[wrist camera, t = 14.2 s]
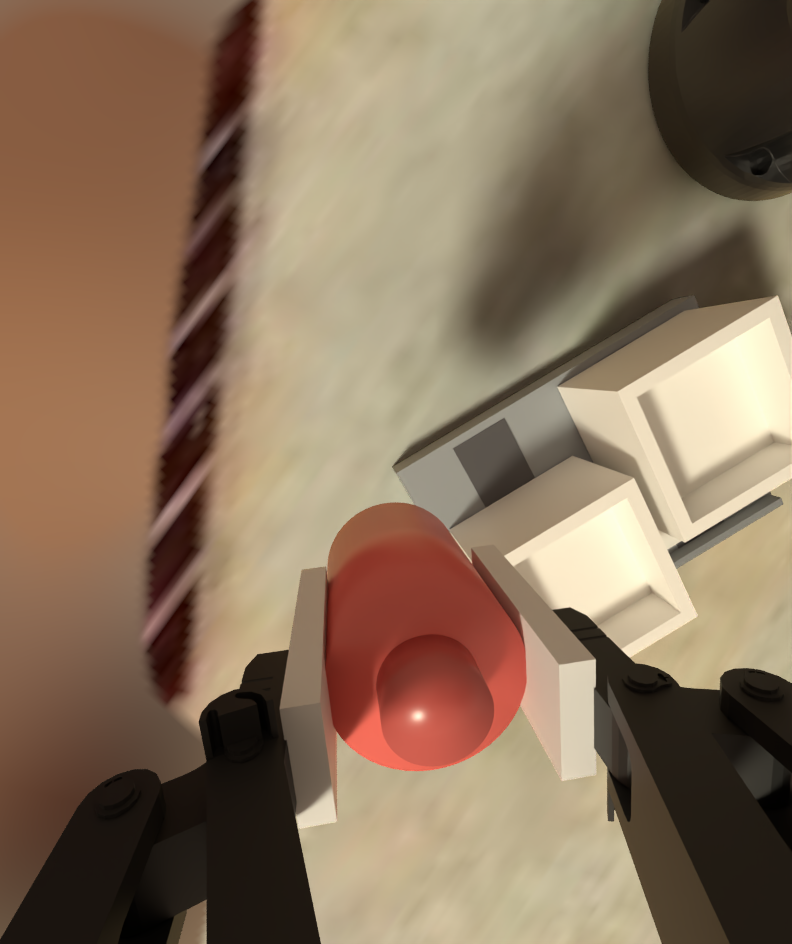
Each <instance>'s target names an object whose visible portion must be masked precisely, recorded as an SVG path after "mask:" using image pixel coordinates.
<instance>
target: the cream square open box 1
mask: <svg viewBox="0 0 792 944" xmlns="http://www.w3.org/2000/svg"><path fill="white" fill-rule="evenodd" d="M557 388H558V390H559V392H560V394H561V396H562V398H563V400H564V402H565V404H566V407H567V409H568V411H569V413H570V415H571V417H572V419H573V421H574V423H575V425H576V427H577V429H578V432H579V434H580V436H581V438H582V440H583V442H584V444H585V446H586V448H587V450H588V452H589V454H590V457H591V459H592V461H593V463H594V464H597V465H600V466H603V467H605V468H608V469H611V470H614V471H617V472H619V473H622V474H625V475H628V476H631V477H633V478H634V479H635V481H636V483H637V485H638V487H639V489H640V492H641V494H642V496H643V498H644V500H645V502H646V505H647V507H648V509H649V511H650V513H651V515H652V518H653V520H654V522H655V524H656V526H657V528H658V530H660V531H662V532H664V533H666V534H668V535H670V536H672V537H674V538H676V539H678V540H681V541H683V542H687V541H689V540H690V539H692V538H694V537H695V536H697V535H699V534H700V533H702V532H704V531H705V530H707V529H709V528H710V527H712V526H714V525H715V524H717V523H719V522H720V521H722V520H723V519H725V518H727V517H728V516H730V515H732V514H733V513H735V512H737V511H738V510H740V509H742V508H743V507H745V506H747V505H748V504H750V503H752V502H753V501H755V500H757V499H758V498H760V497H762V496H763V495H765V494H767V493H768V492H770V491H771V490H773V489H775V488H776V487H778V486H780V485H781V484H783V483H785V482H786V481H788V480H790V479H791V478H792V335H791V332H790V329H789V326H788V324H787V321H786V318H785V315H784V312H783V309H782V306H781V303H780V300H779V297H778V296H771V297H765V298H759V299H753V300H747V301H741V302H735V303H728V304H722V305H716V306H710V307H704V308H698V309H692V310H685V311H683V312H681V313H680V314H678V315H676V316H675V317H673V318H671V319H670V320H668V321H666V322H665V323H663V324H661V325H660V326H658V327H656V328H655V329H653V330H651V331H650V332H648V333H646V334H645V335H643V336H641V337H639V338H638V339H636V340H634V341H633V342H631V343H629V344H628V345H626V346H624V347H623V348H621V349H619V350H618V351H616V352H614V353H613V354H611V355H609V356H608V357H606V358H604V359H603V360H601V361H599V362H598V363H596V364H594V365H593V366H591V367H589V368H588V369H586V370H584V371H583V372H581V373H579V374H578V375H576V376H574V377H573V378H571V379H569V380H568V381H566V382H564V383H563V384H561V385H559V386H558V387H557Z"/></svg>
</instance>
